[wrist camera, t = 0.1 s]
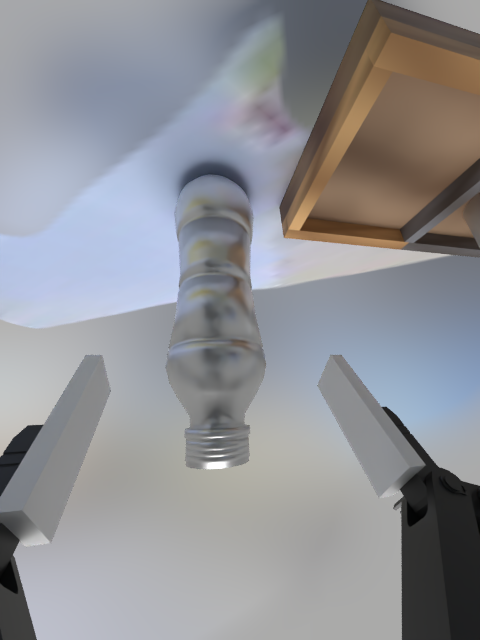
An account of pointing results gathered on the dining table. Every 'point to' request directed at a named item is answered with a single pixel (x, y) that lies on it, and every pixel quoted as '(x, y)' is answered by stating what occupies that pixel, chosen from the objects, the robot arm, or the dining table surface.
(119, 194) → the dining table surface
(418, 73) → the tray
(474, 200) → the bottle
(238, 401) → the plastic bottle
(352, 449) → the robot arm
